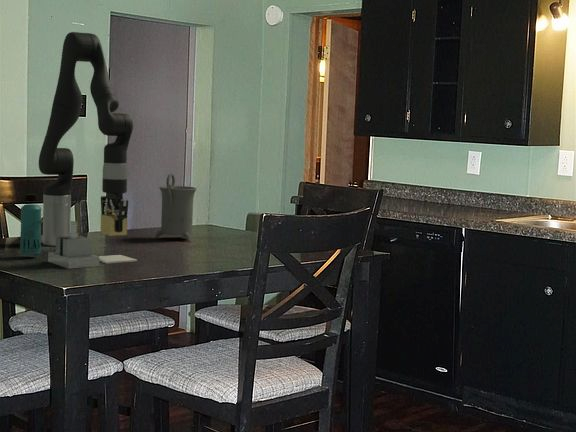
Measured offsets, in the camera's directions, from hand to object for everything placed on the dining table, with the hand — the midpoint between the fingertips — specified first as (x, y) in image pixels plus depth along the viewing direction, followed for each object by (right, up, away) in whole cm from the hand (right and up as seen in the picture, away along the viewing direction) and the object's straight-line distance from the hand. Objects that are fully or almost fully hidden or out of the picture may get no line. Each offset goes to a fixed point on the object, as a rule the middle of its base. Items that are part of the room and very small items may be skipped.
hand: (113, 230), depth 290 cm
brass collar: (0, -1, 0) cm, 1 cm away
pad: (0, -9, +1) cm, 9 cm away
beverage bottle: (-26, -9, -1) cm, 27 cm away
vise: (-10, -10, -10) cm, 17 cm away
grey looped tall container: (+13, -4, +54) cm, 55 cm away
